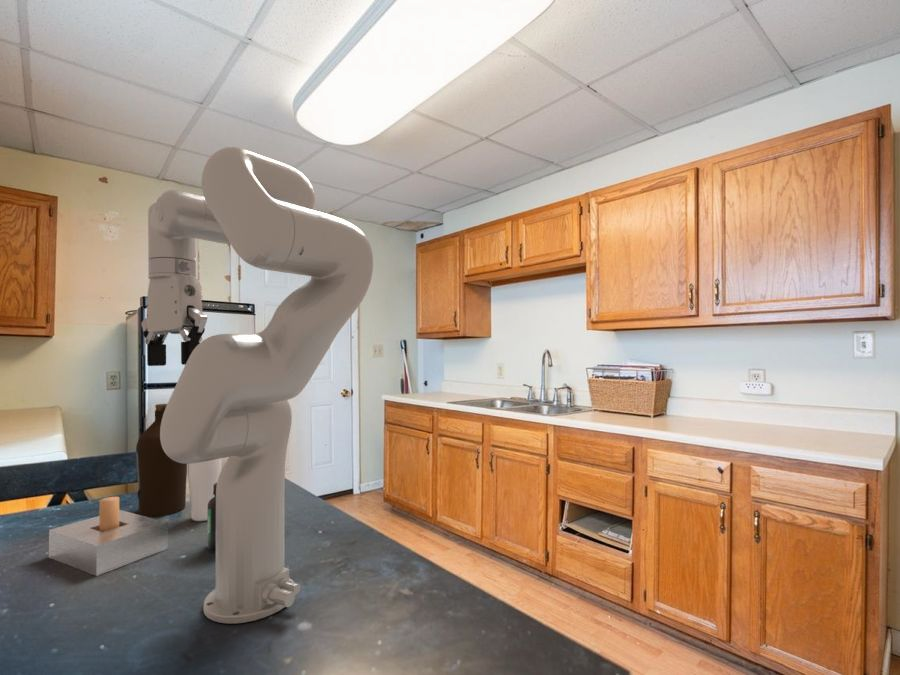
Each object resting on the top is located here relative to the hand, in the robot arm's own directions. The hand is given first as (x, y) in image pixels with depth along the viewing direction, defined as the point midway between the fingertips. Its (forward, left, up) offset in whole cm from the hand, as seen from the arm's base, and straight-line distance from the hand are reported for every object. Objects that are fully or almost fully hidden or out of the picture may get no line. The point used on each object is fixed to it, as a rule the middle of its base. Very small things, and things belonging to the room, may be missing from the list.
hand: (173, 365), depth 86 cm
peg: (+13, +4, -35) cm, 38 cm away
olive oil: (+28, -15, -35) cm, 48 cm away
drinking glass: (+14, -16, -35) cm, 41 cm away
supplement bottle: (-4, -8, -35) cm, 36 cm away
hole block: (+13, +4, -35) cm, 38 cm away
